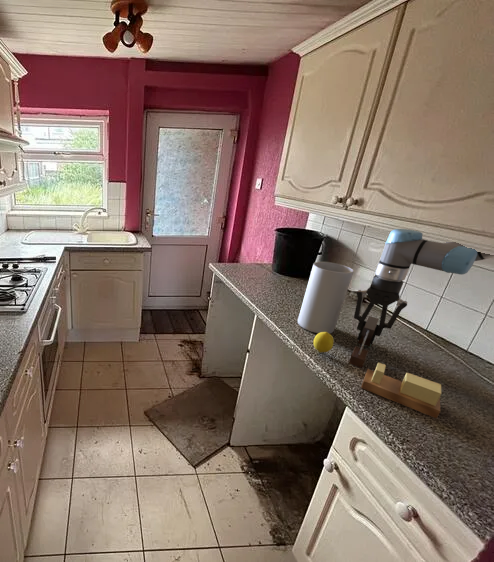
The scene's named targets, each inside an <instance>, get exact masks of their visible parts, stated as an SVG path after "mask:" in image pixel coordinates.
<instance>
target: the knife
mask: <svg viewBox="0 0 494 562" xmlns="http://www.w3.org/2000/svg"><path fill="white" fill-rule="evenodd" d="M366 321H367V322H366V324H365V326H364V329H363V331H362V334H361V335H362V336H365V338H364V341H363V344H361V346H360V348H361V349H360V352H359V354H358V355H360V354H361V351H362V349H364V346H365V345H364V344H365V341H366V338H367V337H369V338H372V336H373V333H374V331H375V328H376V325H378V323H379V321H380V318H378V317H376V316H375V317H374V316H370V315H368V316H367V319H366Z"/></svg>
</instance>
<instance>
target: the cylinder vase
mask: <svg viewBox="0 0 494 562" xmlns="http://www.w3.org/2000/svg"><path fill="white" fill-rule="evenodd" d="M354 272H355V269H353V268H351V267H349V266H346V265H344V264H340V263H335V262H330V261H316V262H315V261H314V262H313V263H312V268H311V271H310V275H309V279H308V283H307V286H306V289H305V293H304V297H303V300H302V305H301V308H300V311H299V314H298V317H297V324H298V325H299V327H301V328H302V329H304V330H306V331H309V332H311V333H314V334H318V333H320V332H328V333H329V334H330V335H331V334H332V333H334V331H335V328H336V326H337V323H338V320H339V318H340V314H341V311H342V308H343V305H344V301H345V299H346V296H347V292H348V291H349V290H348V289H349V287H350V283H351V281H352V277H353V275H354Z"/></svg>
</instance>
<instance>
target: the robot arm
mask: <svg viewBox="0 0 494 562" xmlns="http://www.w3.org/2000/svg"><path fill="white" fill-rule="evenodd" d="M423 235H424V234H423V232H421V231H419V230H413V229H407V228H394V229H392V230H391V231H390V232H389V235H388V237H387V240H386V241H385V243H384V247H383V250H382V253H381V256H380V259H379V261H378V263H377V266H376V270H375V271H374V274H375V275H373V277H372V281H371V283H370V285H369V287H368V288H367V289H366V290H361V289H358V290H357V292H356V297H357V300H356V305H355V310H354V315H353V319H354V320H357V321H358V324H357V327H356V330H357V331H359V333H358V336H357V338H356V340H357V341H358V340H360V338H361V336H362V335H361V334H362V331H363V329H364V326H365V324H366V322H367V318H368V316H369V314H370V313H371V310H372V309H373V307H374V306H375V305H380V306H382V307H381V313H380V318H379V324H377V325H376V328H375V331H374V333H373V336H372V338H371V340H370V343H369V344H371V345H373V343H374V341H375V338H376V337H381V336H382V333H383V330H384V329H389V330H390V329H392V327H393V326H394V324H395V322H396V320H397V318H398V317H399V315H400V313H401V312H402V310H403V309H405V308H406V307H407V306H408V301H407V300H403V299H401V297H400V293H401V290H402V289H403V288H402V287H403V285H404V281H405V280H406V278H407V275H408V272H409V270H410V268H411V265H415V266H420V267H424V268H428V269H433V270H436V271H441V272H445V273H446V274H456V275H466V274H467V273H469V271H470V270H471V268H472V267H473V266H474V264H475V262H478V261H484V260H489V259H494V255H490V254H485V253H481V252H477V251H476V250H475V249H472V248H467V247H465V246H463V245H461V244H459V243H456V242H447V241H445V242H446V243H445V242H438V241H432V240H426V239H423ZM366 295H367V297H368V300H369V303H368V305H367V307H366V308H365V310H364V311H363V313H362V315H360V314H361V309H362V305H363V301H364V298H365V297H366ZM394 303H396V308H395V309H394V311H393V313H392V314H391V316H390V318H389V320H388V322H386V318H387V312H388V308H389V306H390V305H392V304H394Z"/></svg>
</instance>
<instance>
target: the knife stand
mask: <svg viewBox="0 0 494 562" xmlns="http://www.w3.org/2000/svg"><path fill="white" fill-rule="evenodd" d="M364 338H365V336H361V338H360V340H357V344H359V345H362V344H363V341H364ZM370 340H371V338H369V337H367V338H366V341H365V344H364V346H365V347H368V348H370V347H371V345H372V344H369V343H370ZM360 349H361V346H360V347H359V346H357V345H356V346H354V348H353V351H352V353H351V356H350V358H349V361H348V364H350V365H352V366H354V367H357V368H359V369H363V368H364V364H365V362H366V359H367V357H368V354H369V349H365V348H363V349H362V351H361V354H360V355H358V354H359V352H360Z"/></svg>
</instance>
